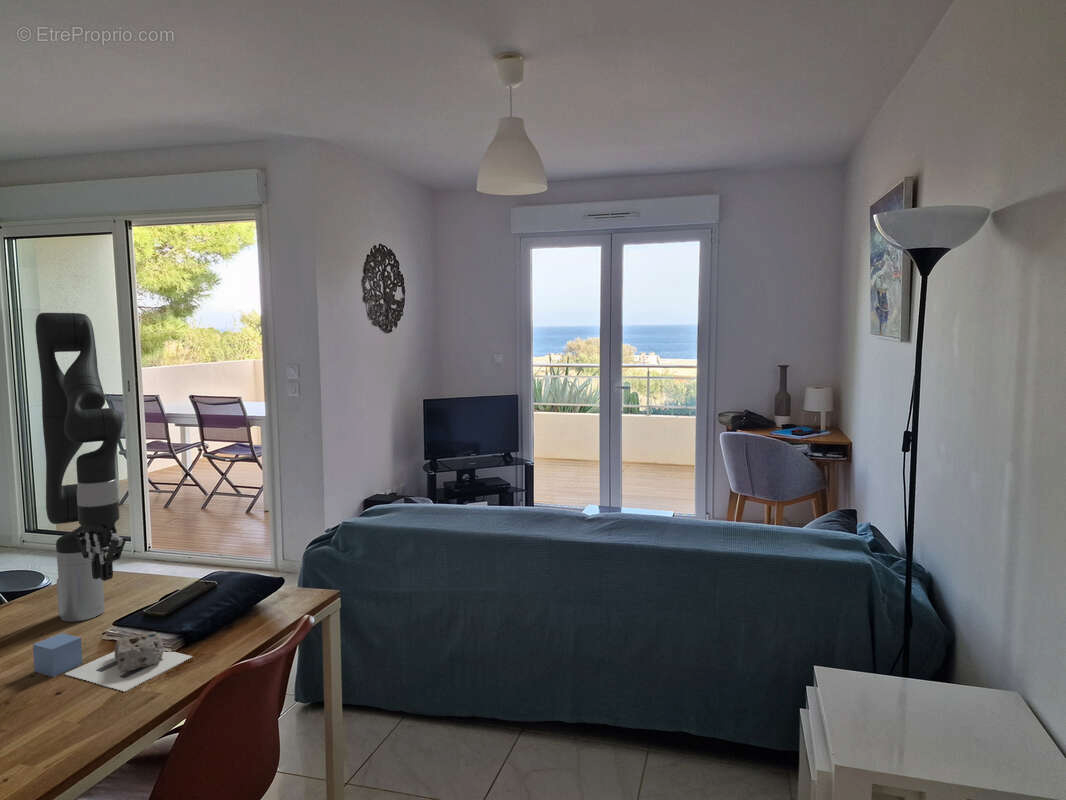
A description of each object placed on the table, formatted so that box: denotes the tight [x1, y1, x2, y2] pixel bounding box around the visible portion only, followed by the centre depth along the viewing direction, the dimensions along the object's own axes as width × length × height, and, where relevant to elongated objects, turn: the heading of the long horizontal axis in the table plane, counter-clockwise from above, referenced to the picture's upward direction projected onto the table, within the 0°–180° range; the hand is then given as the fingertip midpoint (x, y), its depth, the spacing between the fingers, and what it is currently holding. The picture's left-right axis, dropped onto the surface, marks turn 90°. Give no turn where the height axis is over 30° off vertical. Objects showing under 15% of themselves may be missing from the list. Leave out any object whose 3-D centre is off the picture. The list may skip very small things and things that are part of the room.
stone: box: [114, 631, 165, 671], centre depth 148 cm, size 13×6×10 cm
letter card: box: [63, 650, 194, 693], centre depth 146 cm, size 18×16×1 cm
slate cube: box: [32, 632, 83, 678], centre depth 145 cm, size 6×6×6 cm
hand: (102, 578), depth 150 cm, fingers closed
